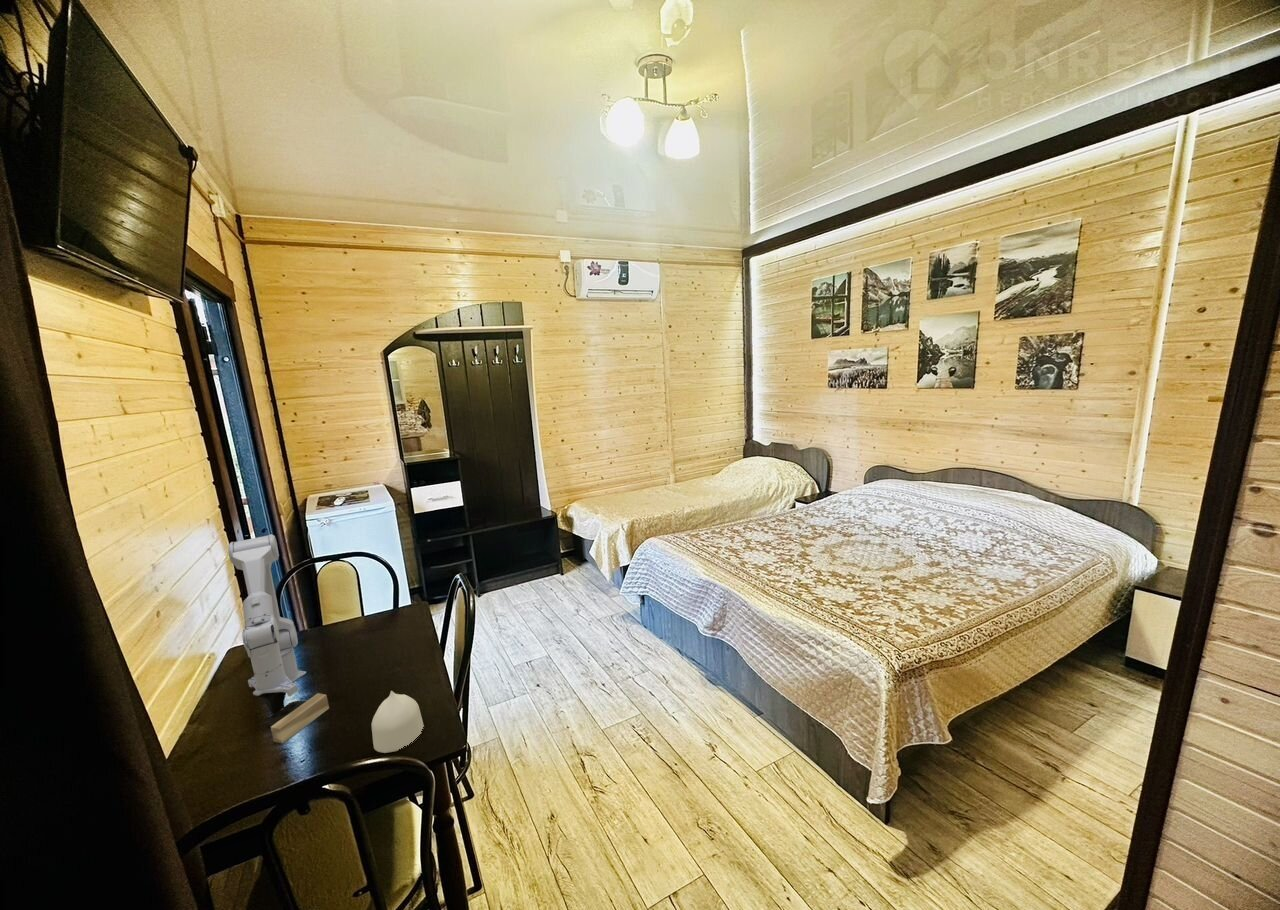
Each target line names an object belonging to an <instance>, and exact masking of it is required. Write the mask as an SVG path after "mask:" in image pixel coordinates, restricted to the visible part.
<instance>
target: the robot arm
mask: <svg viewBox="0 0 1280 910" xmlns="http://www.w3.org/2000/svg"><path fill="white" fill-rule="evenodd" d="M227 547H228V548H227V550H228V557H229V561H230V563H231V564H232V565H233V566H235V569H237V570H241V571H242V572H243V577H244V582H245V586H246V591H247V595H248V596H247V597H246V598H245V599H244V600H243V602H242V607H243V608H242V609H243V619H244V629H243V630H242V631H241V638H242V644H243V646H244V649H245V651H246V653H247V657H248V658H250V661H251V667H252V671H253V676H252V677H251V678H249V679H248V680H247V682H248V687H249V688H254V689H255V690H254V691H253V692H252V695H253V696H257V699H259V700H260V701H262V702H263V703H264V704H265V705H266V707H267V708H268V709H269V711H270V714H271V715H272V714H274V713H276V712H278V711H279V710H280V709H282V708H283V707H285V697H286V695H287V696H288V697H291V696H293V695H294V694H295V693H297V692H298V691H299V689H298V686H297V684H296V683H294V682H295V681H297V680H298V679H300V678H302V677H303V676H304V675H306V674H307V671H306V670H305V671H304V670H299V669H298V664H297V659H296V655H295V650H294V648H295V647H297V645H298V643H299V641H298V633H297V629H296V626H295V624H294V621H293V619H290V618H286V617H281V616H280V615H281V614H280V610H279V609H280V608H279V606H278V599H277V595H276V594H277V593H276V589H275V585H274V584H275V583H274V579H273V574H272V565H273V563H274V562H277V561H278V560H279V557H280V554H279V549H278V542H277V538H276V535H274V534H270V533H269V534H268V535H264V536H258V537H254V538H249V539H244V540H238V541H231V542H230V543H229V544H228V545H227Z"/></svg>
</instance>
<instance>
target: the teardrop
mask: <svg viewBox="0 0 1280 910" xmlns="http://www.w3.org/2000/svg"><path fill="white" fill-rule="evenodd" d="M423 721H424V720H423V718H422V713H421V710H420V707H419V704H418V703H417V701H416V700H415V699H414V698H412V697H410V696H409V695H406V694H399V693H396V692H394V691H393V690H390V693H389V696H388V697H387V698H384V700H383V701H382V702H381V704H380V705H379V706H378V708H377V710H376V711H375V714H374V715H373V717H372V721H371V732H372V735H371V736H372V744H373V749H374V750H375V751H376V752H378V753H384V754H386V753H392V752H397V751H399V749H400V750H401V748H402V749H404V748H405V747H404V746H406V747H407V745H408V746H409V744H410V743H411V742H412V743H414V742H415V741H416V740H417V739H418V738H419V737H420V736H421V735H420V734H422V732H421V731H423V730H424V728H425V725H424V722H423ZM423 727H424V728H423ZM422 729H423V730H422ZM419 735H420V736H419ZM418 736H419V737H418ZM417 737H418V738H417ZM416 738H417V739H416ZM415 739H416V740H415ZM414 740H415V741H414ZM413 741H414V742H413ZM412 743H411V744H412ZM411 744H410V745H411ZM403 747H404V748H403Z"/></svg>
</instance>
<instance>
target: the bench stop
mask: <svg viewBox="0 0 1280 910" xmlns="http://www.w3.org/2000/svg"><path fill="white" fill-rule="evenodd" d="M305 701H306V702H305V703H303V704H302V705H301V706H299V707H298V708H296V709H295V710H294V711H292V712H291V713H290V714H288V715H287V716H285V717H284V718H283V719H281V720H280V721H278V722H277V723H276V724H274V725H273V726H271V727H270V732H271V734H272V740H273V742H275V743H279V744H282V745H283V744H285V743H286V742H287V741H289V740H290V739H291V738H292V737H294V736H295V735H296V734H297V733H299V732H300V731H302V730H303V729H304V728H306V727H308V726H309V725H310V724H311V723H312V722H314V720H316V719H317V718H319V717H320V716H321V715H323V714H324V713H325V712H326V711H328V710H329V709H330V706H329V699H328V697H327V694H324V693H318V692H317V693H316V694H315V695H313V696H312V697H311V698H309V699H308V700H305Z"/></svg>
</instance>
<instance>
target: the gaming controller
mask: <svg viewBox="0 0 1280 910" xmlns="http://www.w3.org/2000/svg"><path fill="white" fill-rule="evenodd" d="M306 701H307V700H296V701H291V702H289V703H287V704H286V705H284V707H283V708H282V709H280V710H279V711H278V712H276V713H274V714H271V716H269V718H268V721H267V723H268V725H269V727H270V728H271V726H273V725H274V724H276V723H277V722H278V721H280V720H281V719H283V718H284V717H285V716H287V715H288V714H290V713H291V712H292V711H294V710H295V709H296V708H298V707H299V706H301V705H302V704H303V703H305V702H306Z"/></svg>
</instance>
